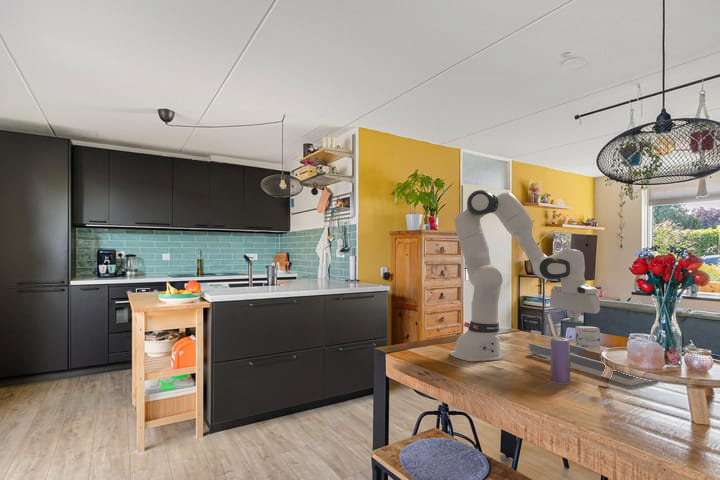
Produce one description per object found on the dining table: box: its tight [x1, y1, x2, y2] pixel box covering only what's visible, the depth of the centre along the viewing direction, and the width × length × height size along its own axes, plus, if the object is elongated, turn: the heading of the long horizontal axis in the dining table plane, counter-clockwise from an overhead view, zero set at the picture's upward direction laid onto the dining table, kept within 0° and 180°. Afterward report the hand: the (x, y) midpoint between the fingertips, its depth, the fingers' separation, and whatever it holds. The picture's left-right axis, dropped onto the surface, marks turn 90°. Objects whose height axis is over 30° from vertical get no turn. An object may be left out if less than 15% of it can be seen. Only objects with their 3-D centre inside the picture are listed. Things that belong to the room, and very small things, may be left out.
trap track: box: [528, 342, 651, 387], centre depth 153 cm, size 16×42×6 cm, turn 25°
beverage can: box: [550, 336, 571, 385], centre depth 133 cm, size 6×6×15 cm
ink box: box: [575, 325, 601, 350], centre depth 172 cm, size 9×5×12 cm, turn 84°
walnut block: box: [583, 348, 605, 362], centre depth 149 cm, size 6×6×5 cm
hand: (573, 321), depth 158 cm, fingers closed
